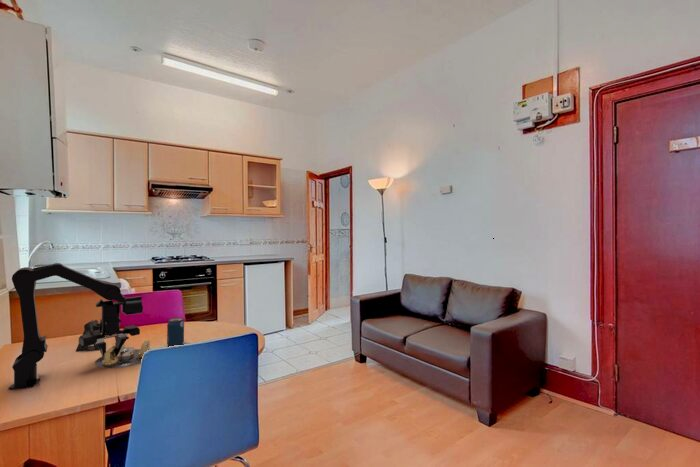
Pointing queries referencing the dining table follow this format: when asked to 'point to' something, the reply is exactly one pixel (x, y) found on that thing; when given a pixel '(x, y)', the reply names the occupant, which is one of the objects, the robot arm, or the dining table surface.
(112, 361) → the wing knob
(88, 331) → the phone stand
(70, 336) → the dining table surface
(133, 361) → the levelling base
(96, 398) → the dining table surface
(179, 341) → the soda can
